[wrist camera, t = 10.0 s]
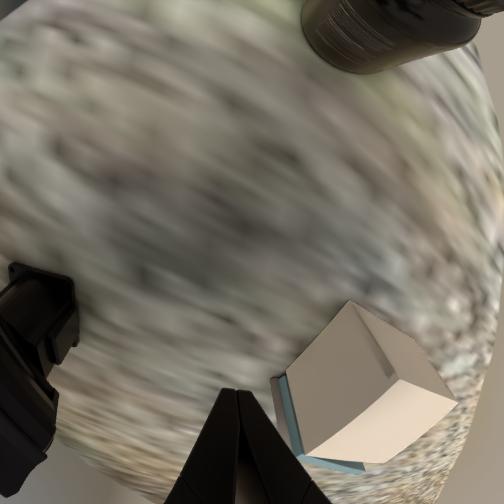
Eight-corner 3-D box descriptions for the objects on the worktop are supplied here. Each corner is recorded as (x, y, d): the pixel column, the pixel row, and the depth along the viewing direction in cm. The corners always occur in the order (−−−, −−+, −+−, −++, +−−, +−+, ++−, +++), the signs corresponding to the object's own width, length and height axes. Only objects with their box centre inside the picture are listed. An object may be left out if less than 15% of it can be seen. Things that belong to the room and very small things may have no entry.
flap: (268, 381, 24) (281, 461, 16) (281, 372, 23) (298, 452, 16) (331, 415, 26) (351, 478, 19) (342, 408, 26) (365, 471, 19)
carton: (285, 370, 23) (305, 455, 16) (349, 299, 21) (399, 378, 13) (355, 395, 26) (384, 463, 18) (412, 338, 24) (458, 402, 16)
